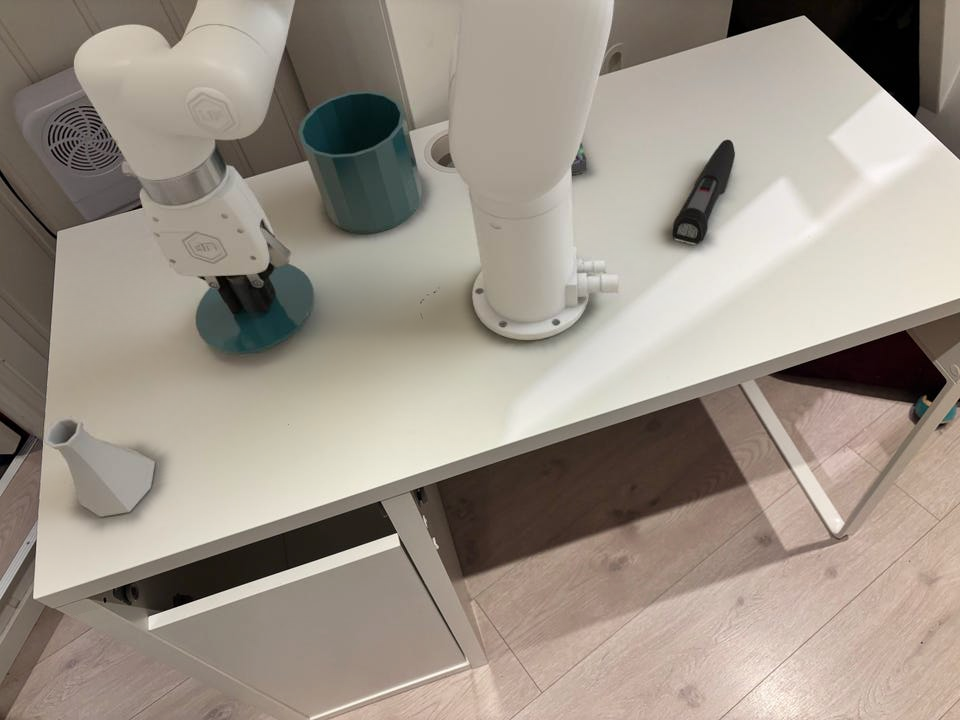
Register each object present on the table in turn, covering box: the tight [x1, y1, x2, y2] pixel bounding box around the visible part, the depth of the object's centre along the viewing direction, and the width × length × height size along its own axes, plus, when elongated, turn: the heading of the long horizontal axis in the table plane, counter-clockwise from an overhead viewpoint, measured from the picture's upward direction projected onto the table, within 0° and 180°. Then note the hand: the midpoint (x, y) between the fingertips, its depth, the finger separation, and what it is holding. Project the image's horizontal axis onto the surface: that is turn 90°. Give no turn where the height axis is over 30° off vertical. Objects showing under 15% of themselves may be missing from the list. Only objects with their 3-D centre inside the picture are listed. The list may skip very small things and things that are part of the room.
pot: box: [297, 90, 423, 235], centre depth 89 cm, size 12×12×12 cm
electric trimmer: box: [671, 139, 736, 246], centre depth 86 cm, size 4×16×3 cm, turn 152°
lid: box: [195, 263, 316, 356], centre depth 80 cm, size 13×13×7 cm
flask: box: [43, 415, 156, 518], centre depth 69 cm, size 7×7×10 cm
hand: (253, 302), depth 81 cm, fingers closed on lid, 2 cm apart
